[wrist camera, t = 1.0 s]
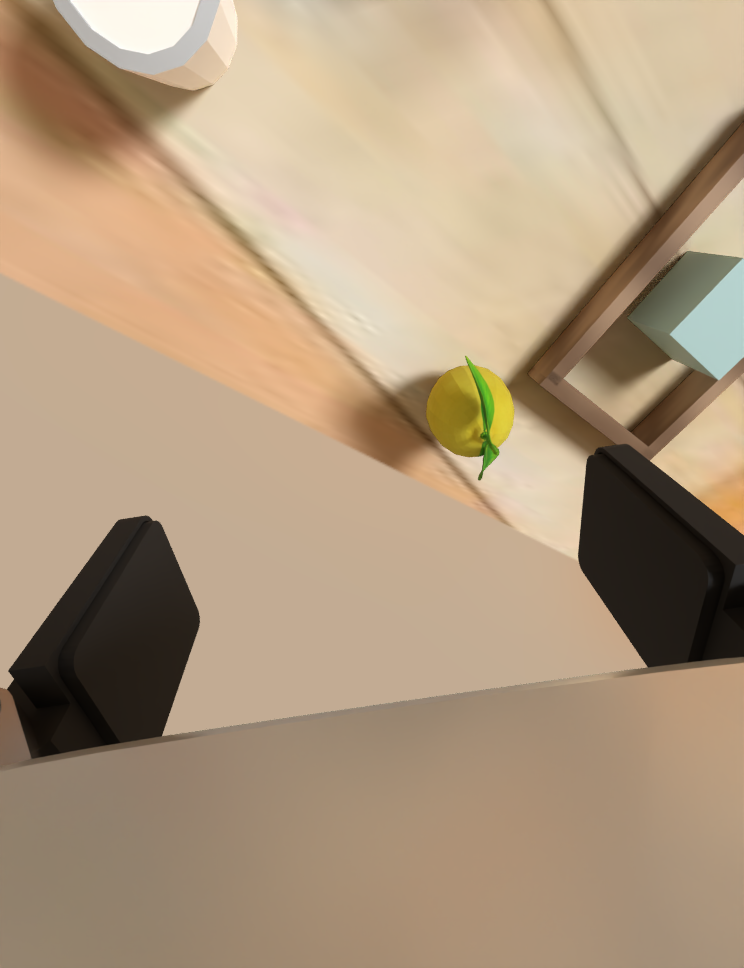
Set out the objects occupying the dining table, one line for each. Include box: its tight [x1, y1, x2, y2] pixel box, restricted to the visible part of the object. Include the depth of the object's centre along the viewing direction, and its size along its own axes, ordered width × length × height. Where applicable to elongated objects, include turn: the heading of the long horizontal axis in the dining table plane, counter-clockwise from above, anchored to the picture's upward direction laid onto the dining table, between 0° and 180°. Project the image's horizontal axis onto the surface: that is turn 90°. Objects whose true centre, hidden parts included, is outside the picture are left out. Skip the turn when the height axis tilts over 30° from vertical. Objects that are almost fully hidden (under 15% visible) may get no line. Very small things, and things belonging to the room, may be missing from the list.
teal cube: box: [627, 251, 744, 380], centre depth 31 cm, size 5×5×5 cm
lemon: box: [426, 356, 514, 480], centre depth 30 cm, size 7×6×10 cm
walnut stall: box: [528, 122, 744, 461], centre depth 31 cm, size 19×11×2 cm, turn 145°
